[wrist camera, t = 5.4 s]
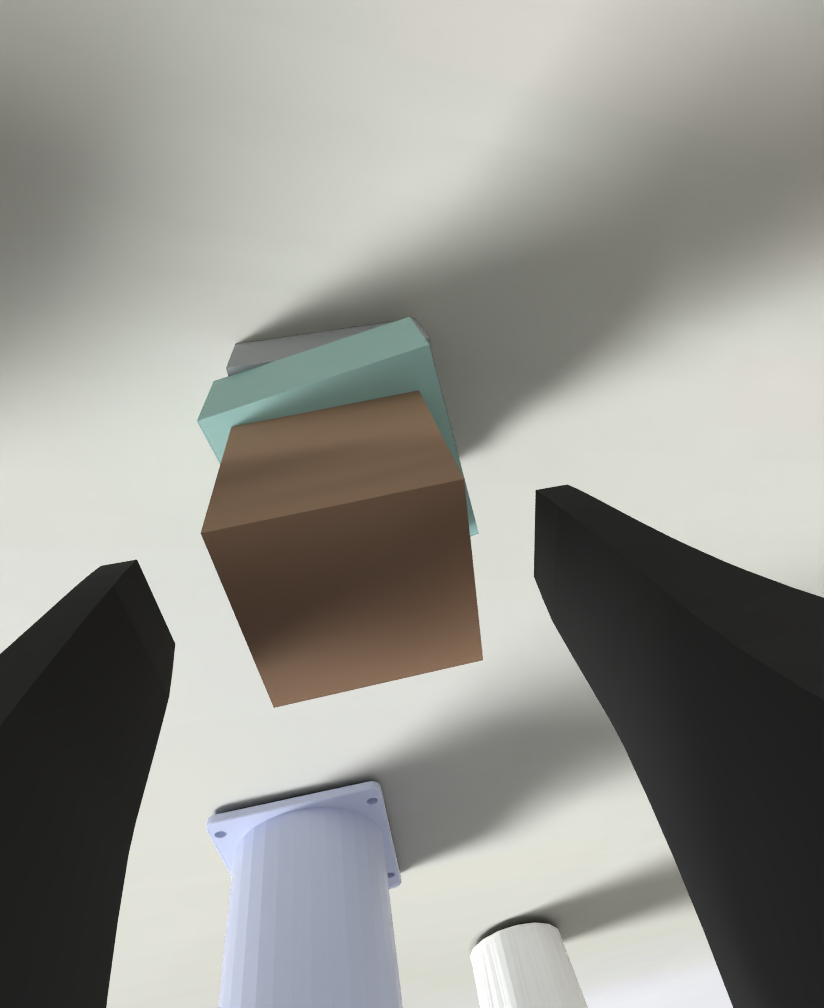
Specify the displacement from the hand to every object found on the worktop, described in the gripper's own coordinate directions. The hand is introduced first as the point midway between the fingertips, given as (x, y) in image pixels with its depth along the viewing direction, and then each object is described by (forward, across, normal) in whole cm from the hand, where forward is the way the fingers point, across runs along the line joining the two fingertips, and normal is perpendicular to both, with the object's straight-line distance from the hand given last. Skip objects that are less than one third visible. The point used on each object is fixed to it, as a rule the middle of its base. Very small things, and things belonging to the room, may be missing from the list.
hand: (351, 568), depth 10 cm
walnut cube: (+3, 0, 0) cm, 3 cm away
